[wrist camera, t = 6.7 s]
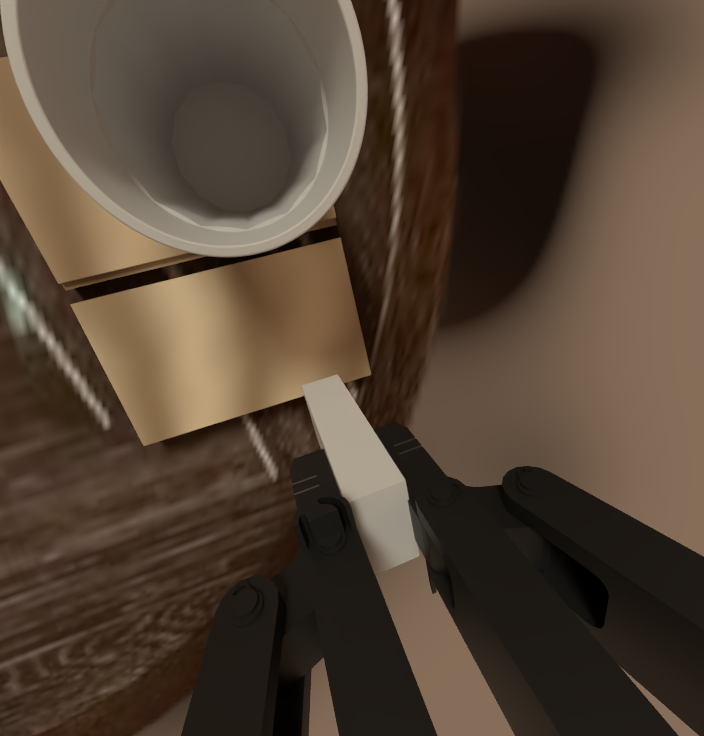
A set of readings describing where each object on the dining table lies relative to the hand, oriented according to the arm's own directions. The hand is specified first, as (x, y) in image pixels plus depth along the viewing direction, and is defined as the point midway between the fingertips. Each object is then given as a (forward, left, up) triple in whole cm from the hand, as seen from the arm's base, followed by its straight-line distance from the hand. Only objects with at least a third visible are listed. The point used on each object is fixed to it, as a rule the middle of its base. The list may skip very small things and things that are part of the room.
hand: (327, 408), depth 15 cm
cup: (0, +11, -11) cm, 15 cm away
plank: (-3, +1, -10) cm, 11 cm away
